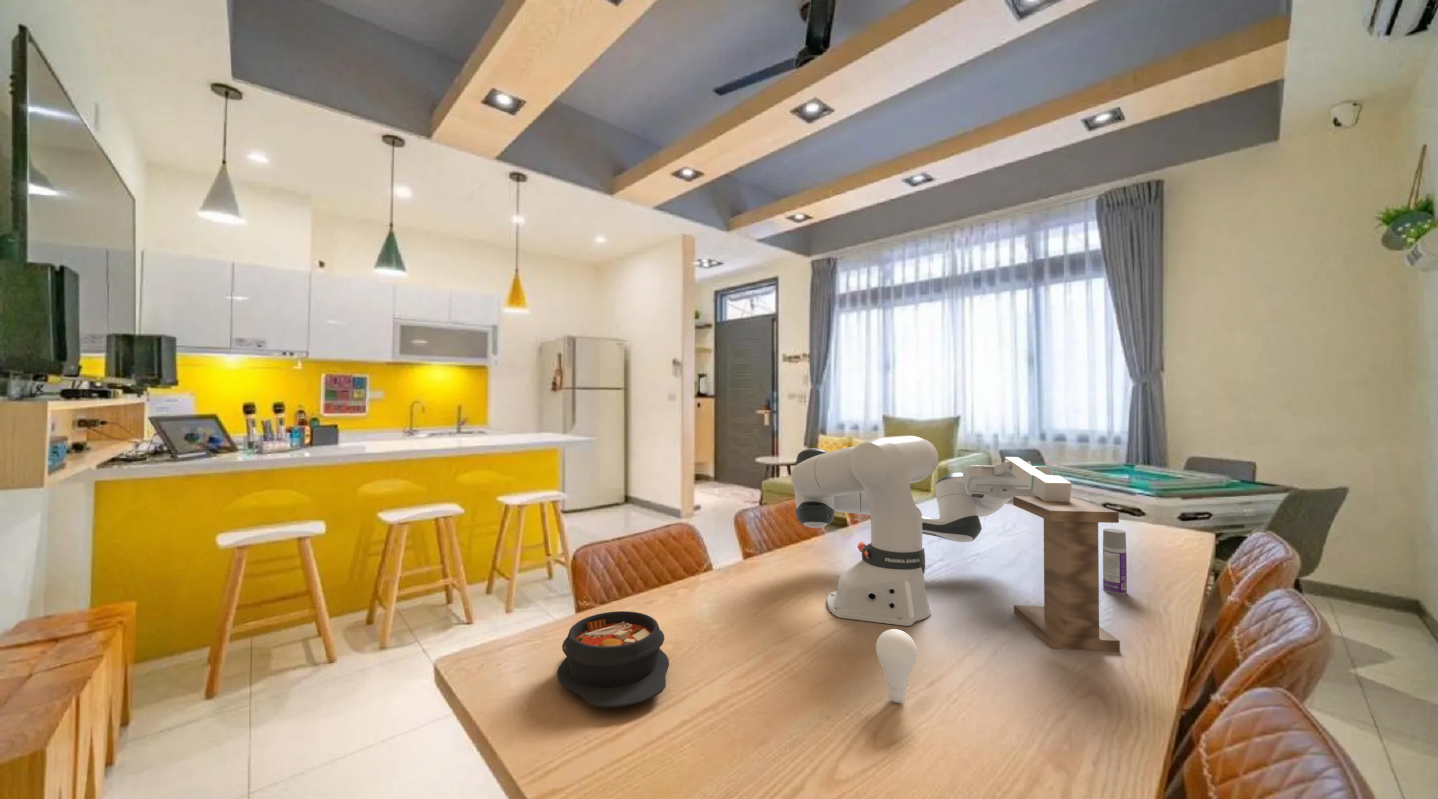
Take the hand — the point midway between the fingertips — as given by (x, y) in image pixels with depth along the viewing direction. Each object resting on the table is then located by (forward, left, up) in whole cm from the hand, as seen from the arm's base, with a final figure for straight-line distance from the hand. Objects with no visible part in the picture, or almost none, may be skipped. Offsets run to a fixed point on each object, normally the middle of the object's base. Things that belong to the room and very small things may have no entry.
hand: (1018, 464), depth 126 cm
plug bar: (0, -7, -4) cm, 7 cm away
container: (+25, +6, -32) cm, 41 cm away
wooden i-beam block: (0, -20, -32) cm, 38 cm away
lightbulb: (-39, -50, -32) cm, 71 cm away
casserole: (-85, -48, -32) cm, 103 cm away
